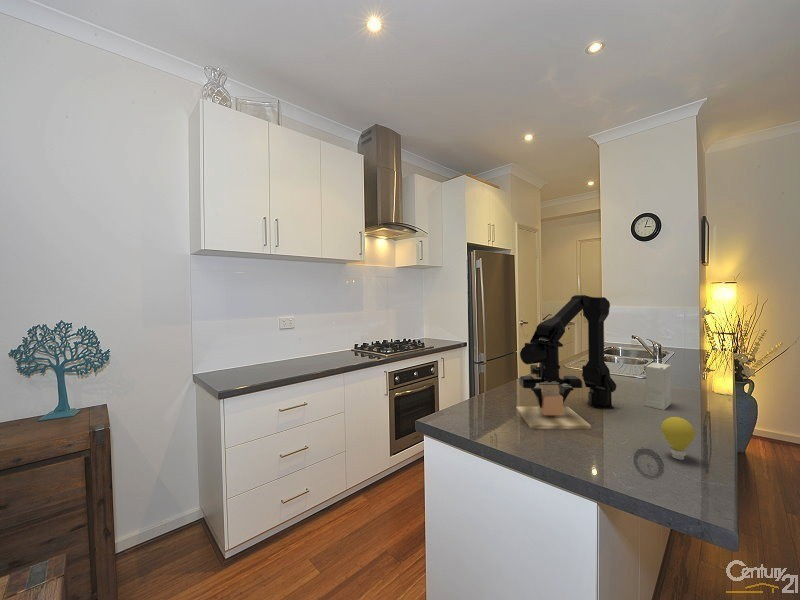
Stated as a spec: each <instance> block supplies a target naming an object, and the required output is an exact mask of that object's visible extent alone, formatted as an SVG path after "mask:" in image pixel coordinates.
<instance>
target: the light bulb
mask: <svg viewBox="0 0 800 600" xmlns="http://www.w3.org/2000/svg"><path fill="white" fill-rule="evenodd" d="M660 430H661V433H662V434H663V436H664V438H665V440H666V441H667V443H669V445H670V448H669V453H671V457H672V458H673V459H676V460H685V457H686V456H687V450H686V448H688V446H690V444H691V443H692V442H693V441H694V439H695V438H696V432H695V431H696V430H695V428H694V427H693V425H692V423H690V422H689V421H688V420H686V419H684V418H682V417H680V416H679V417H678V416H671V417H668V418H665V419H664V420H663V422H662V423H661V427H660Z"/></svg>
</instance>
